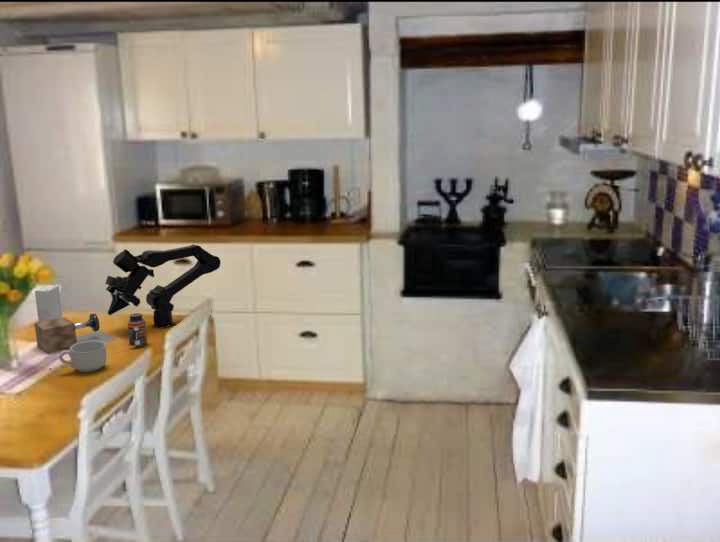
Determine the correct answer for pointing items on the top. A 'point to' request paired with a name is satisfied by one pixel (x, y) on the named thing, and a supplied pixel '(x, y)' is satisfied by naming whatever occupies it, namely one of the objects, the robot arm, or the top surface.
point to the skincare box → (48, 303)
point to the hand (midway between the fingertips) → (108, 314)
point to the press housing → (55, 335)
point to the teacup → (86, 355)
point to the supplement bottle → (137, 330)
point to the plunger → (89, 323)
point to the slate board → (88, 337)
